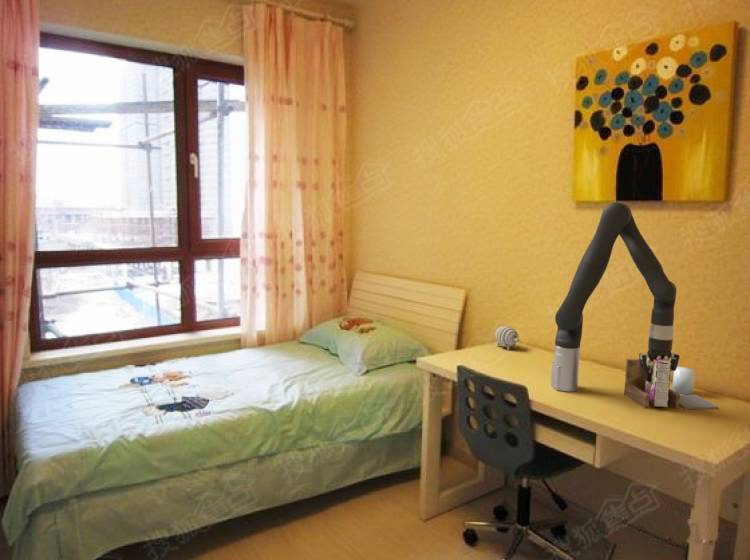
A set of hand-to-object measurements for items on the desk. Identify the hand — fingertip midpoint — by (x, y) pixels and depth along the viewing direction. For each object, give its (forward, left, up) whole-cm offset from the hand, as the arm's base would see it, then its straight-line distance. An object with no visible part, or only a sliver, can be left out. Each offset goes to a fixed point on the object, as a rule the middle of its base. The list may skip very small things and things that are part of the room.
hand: (657, 381), depth 186 cm
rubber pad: (+14, +1, -8) cm, 16 cm away
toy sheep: (-32, +76, -9) cm, 83 cm away
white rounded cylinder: (+18, +12, -9) cm, 23 cm away
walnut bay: (0, +2, -8) cm, 9 cm away
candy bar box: (0, 0, -8) cm, 8 cm away
